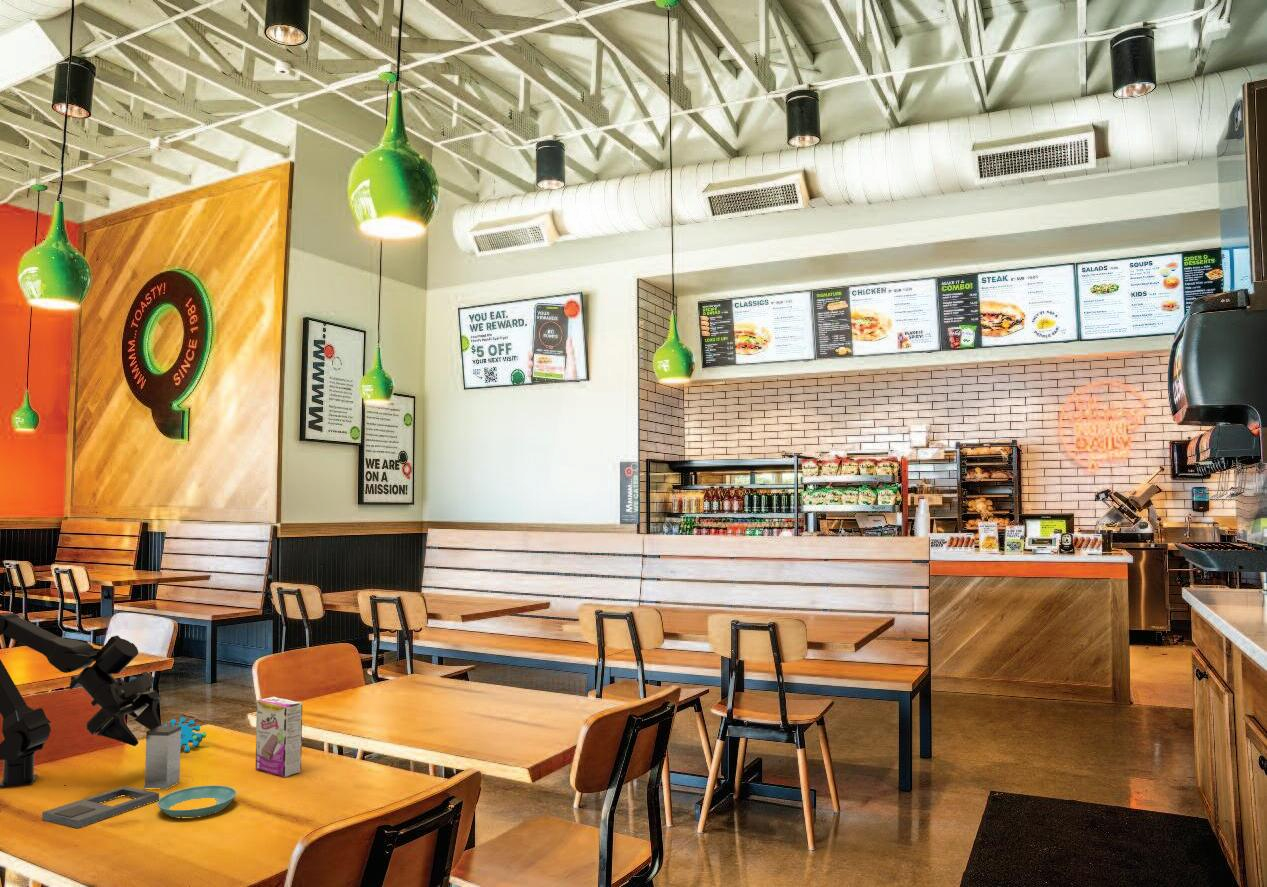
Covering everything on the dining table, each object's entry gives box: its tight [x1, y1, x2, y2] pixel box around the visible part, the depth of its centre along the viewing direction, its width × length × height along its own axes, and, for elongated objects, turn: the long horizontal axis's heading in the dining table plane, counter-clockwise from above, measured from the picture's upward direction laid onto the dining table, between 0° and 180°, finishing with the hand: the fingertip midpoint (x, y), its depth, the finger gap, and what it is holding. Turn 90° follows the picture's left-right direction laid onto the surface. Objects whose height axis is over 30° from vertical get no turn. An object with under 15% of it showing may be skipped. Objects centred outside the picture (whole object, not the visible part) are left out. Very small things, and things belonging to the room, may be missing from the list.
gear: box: [162, 716, 208, 753], centre depth 226 cm, size 11×6×10 cm
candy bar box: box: [255, 696, 303, 778], centre depth 208 cm, size 11×5×16 cm, turn 58°
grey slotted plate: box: [41, 785, 160, 829], centre depth 182 cm, size 11×18×2 cm, turn 155°
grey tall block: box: [144, 725, 182, 790], centre depth 198 cm, size 5×5×12 cm
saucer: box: [156, 785, 237, 818], centre depth 183 cm, size 15×15×3 cm
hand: (149, 738), depth 198 cm, fingers open, 9 cm apart
